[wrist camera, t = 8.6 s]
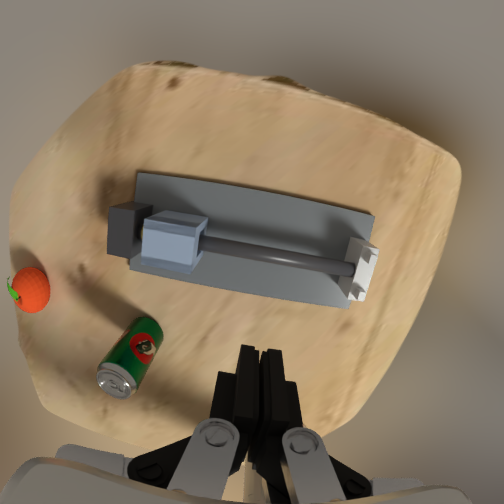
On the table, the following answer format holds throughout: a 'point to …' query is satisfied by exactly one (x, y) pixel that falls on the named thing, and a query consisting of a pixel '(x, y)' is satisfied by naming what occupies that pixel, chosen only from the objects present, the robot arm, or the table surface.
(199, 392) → the table surface
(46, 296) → the clementine
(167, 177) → the linear slide rail
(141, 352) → the soda can
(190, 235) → the sleeve
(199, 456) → the robot arm
